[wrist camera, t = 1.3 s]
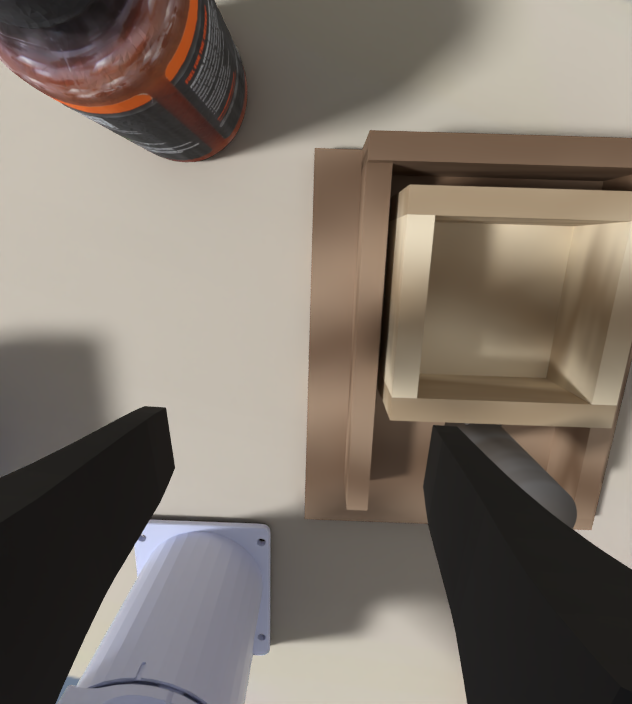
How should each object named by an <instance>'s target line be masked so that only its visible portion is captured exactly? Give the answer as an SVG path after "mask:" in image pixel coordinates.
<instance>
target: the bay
mask: <svg viewBox="0 0 632 704" xmlns="http://www.w3.org/2000/svg"><path fill="white" fill-rule="evenodd" d="M408 185H442V186H475V187H508V188H540V189H573V190H605V191H632V138H613V137H579V136H546V135H512V134H478V133H444V132H410V131H376V130H370V131H369V134H368V137H367V139H366V142H365V144H364V147H363V149H362V150H358V149H325V148H315V160H314V196H313V232H312V268H311V304H310V340H309V376H308V412H307V448H306V484H305V519H316V520H342V521H368V522H394V523H421V524H428V521H427V514H426V507H425V499H424V491H423V483H424V477H425V471H426V464H427V458H428V452H429V446H430V440H431V433H432V427H433V425H442V426H444V425H445V422H420V421H392V420H390V419H389V416H388V414H387V411H386V409H385V406H384V403H383V401H382V398H381V396H380V393H379V391H378V388H377V385H378V372H379V358H380V344H381V331H382V317H383V304H384V290H385V276H386V263H387V249H388V235H389V222H390V208H391V198H392V197H394V196H395V195H396V194H398V193H399V192H400V191H402V190H403V189H404V188H406V187H407V186H408ZM631 360H632V343H631V347H630V351H629V356H628V360H627V364H626V368H625V373H624V377H623V381H622V386H621V390H620V394H619V398H618V403H617V407H616V411H615V415H614V420H613V424H612V428H587V427H559V426H531V425H503V424H502V428H503V429H504V430H505V431H506V432H507V433H508V434H509V435H510V436H511V437H512V438H513V439H514V440H515V441H516V442H517V443H518V444H519V445H520V446H521V447H522V448H523V449H524V450H525V451H526V452H527V453H528V454H529V455H530V456H531V457H532V458H533V459H534V460H535V461H536V462H537V463H538V464H539V465H540V466H541V467H542V468H543V469H544V470H545V471H546V472H547V473H548V474H549V475H550V476H551V477H552V478H553V479H554V480H555V481H556V482H557V483H558V484H559V485H560V486H561V487H562V488H563V489H564V490H565V491H566V492H567V493H568V494H569V495H570V496H571V497H572V498H573V500H574V502H575V504H576V508H577V519H576V523H575V525H574V528H573V529H578V530H591V529H592V525H593V521H594V517H595V513H596V508H597V504H598V500H599V496H600V491H601V487H602V483H603V479H604V475H605V470H606V466H607V462H608V458H609V453H610V449H611V445H612V441H613V437H614V432H615V428H616V424H617V420H618V415H619V411H620V407H621V403H622V399H623V394H624V390H625V386H626V382H627V377H628V373H629V369H630V365H631Z"/></svg>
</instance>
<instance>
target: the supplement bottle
mask: <svg viewBox="0 0 632 704" xmlns="http://www.w3.org/2000/svg"><path fill="white" fill-rule="evenodd" d="M0 60H1V61H2V62H3V63H4V64H5V65H6V66H7V67H8V68H9V69H10V70H11V71H12V72H14V73H15V74H16V75H18V76H19V77H20V78H21V79H23V80H24V81H26V82H27V83H29V84H30V85H31V86H33V87H34V88H36V89H37V90H39V91H41V92H43V93H44V94H46V95H48V96H50V97H51V98H53V99H55V100H57V101H59V102H61V103H62V104H63V105H65V106H66V107H68V108H70V109H72V110H74V111H76V112H78V113H80V114H82V115H84V116H85V117H87V118H89V119H91V120H93V121H95V122H96V123H98V124H100V125H102V126H104V127H106V128H107V129H109V130H111V131H113V132H115V133H117V134H118V135H120V136H122V137H124V138H126V139H127V140H129V141H131V142H133V143H135V144H137V145H139V146H141V147H143V148H144V149H146V150H148V151H150V152H152V153H154V154H156V155H158V156H160V157H164V158H166V159H169V160H172V161H179V162H196V161H201V160H204V159H207V158H209V157H211V156H213V155H215V154H216V153H218V152H219V151H221V150H222V149H223V148H224V147H226V146H227V145H228V144H229V143H230V141H231V140H232V139H233V138H234V137H235V135H236V133H237V132H238V130H239V128H240V126H241V123H242V121H243V118H244V114H245V110H246V104H247V81H246V75H245V71H244V68H243V65H242V61H241V58H240V55H239V53H238V50H237V48H236V46H235V44H234V42H233V40H232V38H231V35H230V33H229V31H228V29H227V27H226V24H225V23H224V20H223V18H222V16H221V14H220V11H219V9H218V8H217V5H216V3H215V0H0Z"/></svg>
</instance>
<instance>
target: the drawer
mask: <svg viewBox="0 0 632 704" xmlns="http://www.w3.org/2000/svg"><path fill="white" fill-rule="evenodd" d="M631 343H632V191H605V190H573V189H540V188H508V187H475V186H442V185H408V186H407V187H406V188H404V189H403V190H402V191H400V192H399V193H398V194H396V195H395V196H394V197H392V198H391V208H390V222H389V235H388V249H387V263H386V276H385V290H384V304H383V317H382V331H381V344H380V358H379V372H378V385H377V388H378V391H379V393H380V396H381V398H382V401H383V403H384V406H385V409H386V411H387V414H388V416H389V419H390V420H392V421H420V422H445V425H444V426H457V427H458V428H459V429H460V430H461V431H462V432H463V433H464V434H465V435H466V436H467V437H468V438H469V439H470V440H471V441H472V442H473V443H474V444H475V445H476V446H477V447H478V448H479V449H480V450H481V451H482V452H483V453H484V454H485V455H486V456H487V457H488V458H489V459H490V460H492V461H493V462H494V463H495V464H496V465H497V466H498V467H499V468H500V469H501V470H502V471H503V472H504V473H505V474H506V475H507V476H508V477H510V478H511V479H512V480H513V481H514V482H515V483H516V484H517V485H518V486H520V487H521V488H522V489H523V490H524V491H525V492H526V493H528V494H529V495H530V496H531V497H532V498H534V499H535V500H536V501H537V502H538V503H539V504H541V505H542V506H543V507H544V508H545V509H547V510H548V511H549V512H550V513H552V514H553V515H554V516H556V517H557V518H558V519H559V520H561V521H562V522H563V523H565V524H566V525H567V526H569V527H570V528H572V529H573V528H574V525H575V523H576V519H577V508H576V504H575V502H574V500H573V498H572V497H571V496H570V495H569V494H568V493H567V492H566V491H565V490H564V489H563V488H562V487H561V486H560V485H559V484H558V483H557V482H556V481H555V480H554V479H553V478H552V477H551V476H550V475H549V474H548V473H547V472H546V471H545V470H544V469H543V468H542V467H541V466H540V465H539V464H538V463H537V462H536V461H535V460H534V459H533V458H532V457H531V456H530V455H529V454H528V453H527V452H526V451H525V450H524V449H523V448H522V447H521V446H520V445H519V444H518V443H517V442H516V441H515V440H514V439H513V438H512V437H511V436H510V435H509V434H508V433H507V432H506V431H505V430H504V429H503V428H502V424H503V425H531V426H559V427H587V428H612V424H613V420H614V415H615V411H616V407H617V403H618V398H619V394H620V390H621V386H622V381H623V377H624V373H625V368H626V364H627V360H628V356H629V351H630V347H631Z"/></svg>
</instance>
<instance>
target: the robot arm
mask: <svg viewBox="0 0 632 704" xmlns="http://www.w3.org/2000/svg"><path fill="white" fill-rule="evenodd" d="M174 469H175V465H174V458H173V452H172V445H171V438H170V432H169V425H168V418H167V412H166V408H163V407H147V406H144V407H142V408H139V409H137V410H135V411H133V412H131V413H129V414H127V415H125V416H123V417H121V418H119V419H117V420H115V421H114V422H112V423H110V424H108V425H106V426H104V427H102V428H101V429H99V430H97V431H95V432H93V433H91V434H89V435H87V436H86V437H84V438H82V439H80V440H78V441H76V442H74V443H72V444H70V445H68V446H66V447H64V448H62V449H60V450H58V451H56V452H54V453H52V454H50V455H48V456H46V457H44V458H42V459H40V460H38V461H36V462H34V463H32V464H30V465H28V466H26V467H24V468H21V469H19V470H17V471H15V472H12V473H10V474H8V475H6V476H3V477H1V478H0V704H55V703H56V701H57V699H58V696H59V694H60V692H61V689H62V687H63V685H64V682H65V680H66V678H67V676H68V674H69V671H70V669H71V667H72V665H73V662H74V660H75V658H76V656H77V654H78V651H79V649H80V647H81V645H82V643H83V640H84V638H85V636H86V634H87V632H88V630H89V628H90V626H91V624H92V622H93V619H94V617H95V615H96V613H97V611H98V609H99V607H100V605H101V603H102V601H103V599H104V597H105V595H106V593H107V591H108V589H109V588H110V586H111V584H112V582H113V580H114V578H115V577H116V575H117V573H118V572H119V570H120V568H121V567H122V565H123V563H124V562H125V560H126V558H127V557H128V555H129V554H130V552H131V550H132V549H133V547H134V546H135V556H136V567H137V577H138V578H137V579H136V581H135V583H134V585H133V586H132V588H131V590H130V592H129V594H128V595H127V597H126V599H125V601H124V602H123V604H122V606H121V608H120V609H119V611H118V613H117V615H116V617H115V618H114V620H113V622H112V624H111V625H110V627H109V629H108V631H107V633H106V634H105V636H104V638H103V640H102V641H101V643H100V645H99V647H98V648H97V650H96V652H95V654H94V656H93V657H92V659H91V661H90V663H89V664H88V666H87V668H86V670H85V672H84V673H83V675H82V677H81V679H80V680H79V682H78V684H77V686H73V685H70V686H68V687H67V689H66V690H65V692H64V694H63V695H62V697H61V699H60V701H59V702H58V704H244V703H245V697H246V691H247V686H248V680H249V674H250V668H251V663H252V657H253V655H265V654H267V653H268V652H269V650H270V543H271V531H270V528H269V527H268V526H267V525H265V524H253V523H227V522H201V521H175V520H150V519H151V517H152V515H153V513H154V512H155V510H156V508H157V507H158V505H159V503H160V501H161V499H162V497H163V495H164V493H165V490H166V488H167V486H168V484H169V481H170V479H171V476H172V474H173V471H174ZM423 491H424V499H425V507H426V514H427V521H428V525H429V529H430V533H431V537H432V541H433V545H434V549H435V553H436V556H437V560H438V564H439V568H440V572H441V575H442V579H443V583H444V587H445V590H446V594H447V598H448V602H449V605H450V609H451V614H452V618H453V623H454V627H455V632H456V637H457V643H458V649H459V655H460V661H461V667H462V673H463V679H464V685H465V692H466V698H467V704H632V569H630V568H628V567H627V566H625V565H624V564H622V563H621V562H619V561H618V560H616V559H614V558H613V557H611V556H610V555H608V554H607V553H605V552H604V551H602V550H601V549H599V548H598V547H596V546H595V545H594V544H592V543H591V542H589V541H588V540H586V539H585V538H584V537H582V536H581V535H580V534H578V533H577V532H576V531H574V530H573V529H572V528H570V527H569V526H567V525H566V524H565V523H563V522H562V521H561V520H559V519H558V518H557V517H556V516H554V515H553V514H552V513H550V512H549V511H548V510H547V509H545V508H544V507H543V506H542V505H541V504H539V503H538V502H537V501H536V500H535V499H534V498H532V497H531V496H530V495H529V494H528V493H526V492H525V491H524V490H523V489H522V488H521V487H520V486H518V485H517V484H516V483H515V482H514V481H513V480H512V479H511V478H510V477H508V476H507V475H506V474H505V473H504V472H503V471H502V470H501V469H500V468H499V467H498V466H497V465H496V464H495V463H494V462H493V461H492V460H490V459H489V458H488V457H487V456H486V455H485V454H484V453H483V452H482V451H481V450H480V449H479V448H478V447H477V446H476V445H475V444H474V443H473V442H472V441H471V440H470V439H469V438H468V437H467V436H466V435H465V434H464V433H463V432H462V431H461V430H460V429H459V428H458V427H457V426H442V425H433V427H432V433H431V440H430V446H429V452H428V458H427V464H426V471H425V477H424V483H423ZM141 534H143V535H145V536H146V537H143V536H142V535H141ZM258 539H264V540H265V541H263V542H262V541H259V540H258ZM261 634H264V635H261Z"/></svg>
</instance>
